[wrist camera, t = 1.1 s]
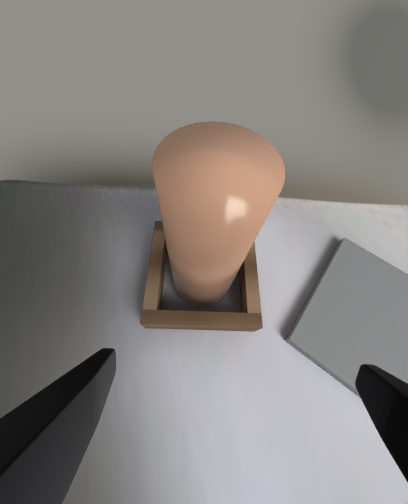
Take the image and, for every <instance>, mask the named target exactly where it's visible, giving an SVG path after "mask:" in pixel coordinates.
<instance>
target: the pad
mask: <svg viewBox="0 0 408 504" xmlns="http://www.w3.org/2000/svg"><path fill="white" fill-rule="evenodd" d="M285 341H286V342H288V343H289V344H290V345H292V346H293V347H294V348H296V349H297V350H298V351H300V352H301V353H302V354H303V355H305V356H306V357H307V358H309V359H310V360H311V361H313V362H314V363H315V364H317V365H318V366H319V367H321V368H322V369H323V370H325V371H326V372H327V373H329V374H330V375H331V376H333V377H334V378H335V379H337V380H338V381H339V382H341V383H342V384H343V385H345V386H346V387H347V388H349V389H350V390H351V391H353V392H354V393H355V394H356V395H358V396H359V397H360V395H359V393H358V391H357V389H356V386H355V380H356V377H357V374H358V371H359V368H360V366H361V365H362V364H373V365H376V366H378V367H379V368H381V369H383V370H385V371H386V372H388V373H390V374H392V375H393V376H395V377H397V378H399V379H400V380H402V381H404V382H406V383H408V274H406V273H404V272H403V271H401V270H399V269H398V268H396V267H394V266H393V265H391V264H389V263H387V262H386V261H384V260H382V259H381V258H379V257H377V256H376V255H374V254H372V253H370V252H369V251H367V250H365V249H364V248H362V247H360V246H358V245H357V244H355V243H353V242H352V241H350V240H348V239H347V238H344V239H342V240H341V241H340V242H339V244H338V245H337V247H336V249H335V251H334V253H333V255H332V256H331V258H330V260H329V262H328V264H327V265H326V267H325V269H324V271H323V273H322V274H321V276H320V278H319V280H318V282H317V284H316V285H315V287H314V289H313V291H312V293H311V294H310V296H309V298H308V300H307V302H306V303H305V305H304V307H303V309H302V311H301V312H300V314H299V316H298V318H297V320H296V322H295V323H294V325H293V327H292V329H291V331H290V332H289V334H288V336H287V338H286V340H285ZM360 398H361V397H360Z"/></svg>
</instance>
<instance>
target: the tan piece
mask: <svg viewBox="0 0 408 504" xmlns="http://www.w3.org/2000/svg"><path fill="white" fill-rule="evenodd" d="M152 169H153V175H154V181H155V186H156V192H157V197H158V202H159V207H160V213H161V218H162V223H163V229H164V234H165V239H166V245H167V250H168V255H169V261H170V266H171V271H172V276H173V282H174V286H175V289H176V291H177V293H178V294H179V296H180V297H181V298H182V299H183V300H184V301H186V302H187V303H189V304H192V305H195V306H201V307H203V306H210V305H213V304H215V303H217V302H219V301H220V300H221V299H222V298H223V297H224V296H225V295H226V293H227V292H228V290H229V288H230V286H231V284H232V282H233V280H234V278H235V277H236V275H237V273H238V271H239V269H240V267H241V265H242V263H243V261H244V260H245V258H246V256H247V254H248V252H249V250H250V248H251V246H252V244H253V243H254V241H255V239H256V237H257V235H258V233H259V231H260V229H261V227H262V226H263V224H264V222H265V220H266V218H267V216H268V214H269V212H270V210H271V209H272V207H273V205H274V203H275V201H276V199H277V197H278V195H279V194H280V192H281V189H282V187H283V184H284V181H285V168H284V164H283V161H282V159H281V157H280V155H279V153H278V152H277V150H276V149H275V148H274V147H273V146H272V144H270V143H269V142H268V141H267V140H266V139H265V138H263V137H262V136H260V135H259V134H257V133H255V132H254V131H251V130H249V129H247V128H244V127H242V126H238V125H235V124H230V123H224V122H201V123H194V124H190V125H187V126H184V127H181V128H179V129H177V130H175V131H174V132H172V133H170V134H169V135H168V136H167V137H165V138H164V139H163V140H162V141H161V143H160V144H159V145H158V147H157V148H156V150H155V153H154V156H153V161H152Z"/></svg>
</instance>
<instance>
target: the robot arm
mask: <svg viewBox="0 0 408 504" xmlns="http://www.w3.org/2000/svg"><path fill="white" fill-rule="evenodd" d="M115 372H116V352H115V349H113V348H103V349H101V350H99V351H98V352H96V353H95V354H94V355H92V356H91V357H89V358H88V359H86V360H85V361H83V362H82V363H80V364H79V365H78V366H76V367H75V368H73V369H72V370H70V371H69V372H67V373H66V374H64V375H63V376H62V377H60V378H59V379H57V380H56V381H54V382H53V383H51V384H50V385H48V386H47V387H46V388H44V389H43V390H41V391H40V392H38V393H37V394H35V395H34V396H32V397H31V398H30V399H28V400H27V401H25V402H24V403H22V404H21V405H19V406H18V407H17V408H15V409H14V410H12V411H11V412H9V413H8V414H6V415H5V416H3V417H2V418H1V419H0V504H62V503H63V501H64V498H65V496H66V494H67V492H68V490H69V487H70V485H71V483H72V481H73V478H74V476H75V474H76V472H77V470H78V467H79V465H80V463H81V461H82V458H83V456H84V454H85V452H86V449H87V447H88V445H89V443H90V441H91V438H92V436H93V434H94V432H95V429H96V427H97V425H98V422H99V419H100V417H101V414H102V411H103V408H104V405H105V402H106V399H107V396H108V393H109V390H110V387H111V384H112V382H113V379H114V376H115ZM355 386H356V389H357V391H358V393H359V395H360V397H361V399H362V401H363V403H364V405H365V407H366V409H367V411H368V413H369V415H370V417H371V419H372V421H373V423H374V425H375V427H376V429H377V431H378V433H379V435H380V437H381V438H382V440H383V442H384V444H385V445H386V447H387V449H388V450H389V452H390V454H391V455H392V457H393V459H394V460H395V462H396V464H397V465H398V467H399V469H400V470H401V472H402V474H403V475H404V477H405V479H406V480H407V482H408V383H406V382H404V381H402V380H400V379H399V378H397V377H395V376H393V375H392V374H390V373H388V372H386V371H385V370H383V369H381V368H379V367H378V366H376V365H373V364H362V365H361V366H360V368H359V371H358V374H357V377H356V380H355Z"/></svg>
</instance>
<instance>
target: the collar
mask: <svg viewBox="0 0 408 504" xmlns="http://www.w3.org/2000/svg"><path fill="white" fill-rule="evenodd" d="M166 253H167V245H166V239H165V234H164V229H163V223H162V221H155V226H154V233H153V239H152V246H151V253H150V260H149V267H148V274H147V280H146V287H145V294H144V301H143V308H142V315H141V322H140V324H141V325H142V326H144V327H145V328H160V329H193V330H226V331H257V330H259V329H261V328H263V327H262V317H261V306H260V295H259V285H258V274H257V264H256V253H255V243H253V244H252V246H251V248H250V250H249V252H248V254H247V256H246V258H245V260H244V261H243V263H242V265H241V267H240V269H239V278H240V296H241V313H237V312H208V311H178V310H160V308H161V299H162V290H163V281H164V272H165V262H166Z"/></svg>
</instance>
